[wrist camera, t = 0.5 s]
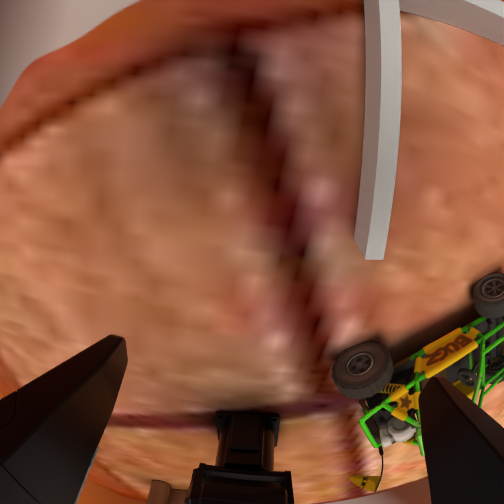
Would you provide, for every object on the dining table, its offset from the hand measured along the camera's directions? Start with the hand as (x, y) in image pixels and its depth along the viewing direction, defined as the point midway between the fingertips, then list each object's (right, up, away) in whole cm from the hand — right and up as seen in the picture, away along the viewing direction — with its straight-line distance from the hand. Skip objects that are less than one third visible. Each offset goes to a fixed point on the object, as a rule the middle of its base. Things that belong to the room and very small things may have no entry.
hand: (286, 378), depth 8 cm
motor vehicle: (+16, -6, +18) cm, 24 cm away
